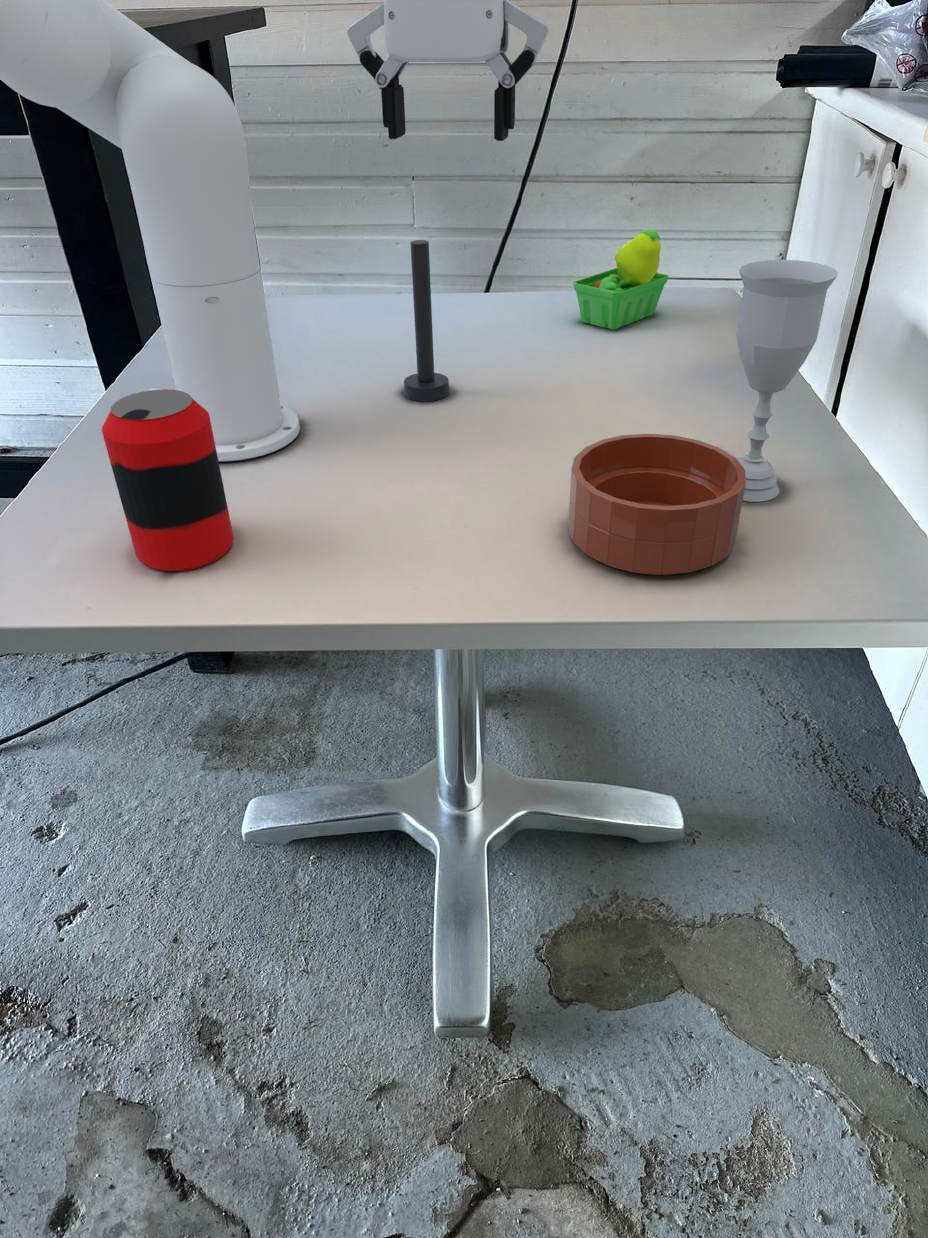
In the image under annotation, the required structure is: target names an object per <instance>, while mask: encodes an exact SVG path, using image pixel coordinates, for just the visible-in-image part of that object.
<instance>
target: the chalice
mask: <svg viewBox="0 0 928 1238" xmlns="http://www.w3.org/2000/svg"><path fill="white" fill-rule="evenodd" d="M738 272H739V275H740V279H741V281H742V284H743V287H742V288H743V289H742V294H741V301H740V308H739V314H738V321H737V326H736V334H735V337H736V342H737V346H738V353H739V358H740V361H741V365H742V368H743V370H744V373H745V376H746V379H747V382H748V386H749V387H750V388H751V389H752V390H754V391H756V392H758V402H757V405H756V407H755V409H754V410H753V411H752V412H751V415H752V416H753V420H754V424H753V425H754V426H753V427H752V430H751V431H750V432H748V433H747V435H746V436H747V437H748V438H749V441H750V443H749V444H750V448H749V451H748V453H747V454H745V456H742V457H738V458H736V459H737V460H738V461H739V462H740V464H741V465H742V466H743V467H744V469H745V475H746V485H745V490H744V496H743V501H744V502H750V503H751V502H752V503H753V502H755V503H756V502H758V503H760V502H766V501H770V500H772V499H775V498H777V496H778V495H779V494H780V488H779V486H778V484H777V481H778V480H777V477H776V474H775V472H776V470H775V468H774V467H773V465H772V464H771V462H770V461H768V460H766V459H765V457H764V456H763V452H762V450H763V449H762V448H763V446H764V443H765V442H766V441H767V440H768V439H769V438H770V434H769V433H768V431H767V425H768V422H769V420H770V419H771V417H773V413H772V411H771V400H772V398H773V396H774V394H775V393H778V392H782V391H784V390H785V389H786V388H787V387H788V385H790V383H791V381H792V380H793V379H794V377H795V376H796V375H797V373H798V372H799V370H800V369H801V368H802V366H803V365H804V364H805V362H806V360H807V359H808V356H809V355H810V353H811V351H812V350H813V348H814V346H815V344H816V342H817V339H818V335H819V331H820V326H821V322H822V316H823V311H824V307H825V303H826V297H827V292H828V289H829V288H830V287H831V285H832V284H833V283H834V281H835V280H836V279H837V277H838V275H839V272H838V270H836V269H835V268H834V267H832V266H829V265H827V264H823V263H818V262H813V261H806V260H798V259H797V260H796V259H769V260H768V259H767V260H759V261H754V262H749V263H747V264H744V265H742V266H740V268H739V269H738Z"/></svg>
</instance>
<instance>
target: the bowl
mask: <svg viewBox="0 0 928 1238" xmlns="http://www.w3.org/2000/svg"><path fill="white" fill-rule="evenodd" d="M737 459H738V458H737V457H735V456H734V455H732V454H730V453H729V452H727V451H725V450H724V449H722V448H721V447H718V446H716V445H713V444H710V443H708V442H705V441H701V440H699V439H696V438H695V439H694V438H690V437H684V436H679V435H675V434H673V435H672V434H661V433H636V434H622V435H621V434H620V435H618V436H617V435H616V436H612V437H607V438H604V439H601V440H598V441H596V442H594V443H592V444H589V445H586V446H585V447H583V448H582V449H581V450H580V452H579V453H577V454H576V455H575V456H574V457H573V461H572V465H571V470H570V471H571V472H570V487H569V488H570V490H569V506H568V507H569V508H568V509H569V510H568V526H567V527H568V528H567V530H568V533H569V535H570V538H571V541H572V543H573V544H574V545H575V546H576V547H577V548H579V549H580V550H581V551H582V552H583V553H584V554H585V555H587V556H588V557H590V558H592V559H594V560H595V561H598V562H599V563H601V564H604V565H606V566H608V567H612V568H615V569H618V570H622V571H625V572H630V573H634V574H641V575H649V576H650V575H654V576H669V575H678V574H687V573H693V572H695V571H700V570H703V569H707V568H710V567H713V566H714V565H716V564H717V563H719V562H721V561H722V560H724V559H726V558H727V557H728V556H729V554H730V552H732V549H733V548H734V546H735V544H736V539H737V534H738V529H739V525H740V524H739V523H740V518H741V513H742V506H743V496H744V490H745V485H746V475H745V469H744V467H743V466H742V465H741V464H740V462H739V461H738V460H737Z"/></svg>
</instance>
